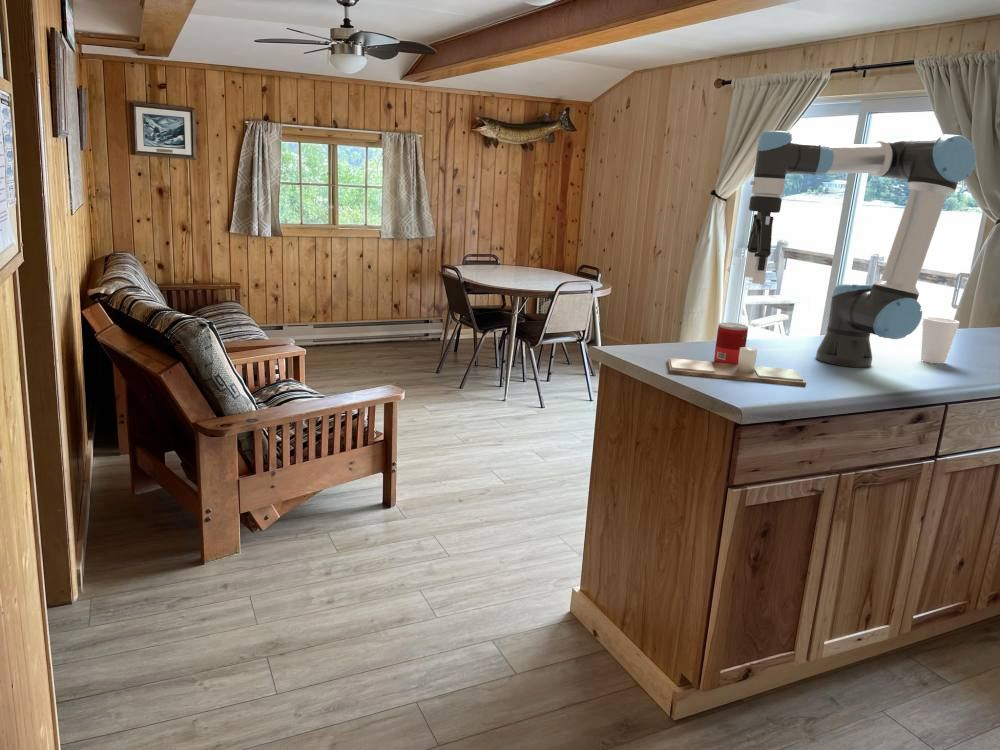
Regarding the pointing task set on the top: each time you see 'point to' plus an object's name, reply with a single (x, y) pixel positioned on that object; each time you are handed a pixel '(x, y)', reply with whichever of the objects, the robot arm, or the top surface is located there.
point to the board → (734, 372)
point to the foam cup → (937, 338)
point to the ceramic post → (747, 360)
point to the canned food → (730, 342)
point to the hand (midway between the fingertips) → (753, 280)
